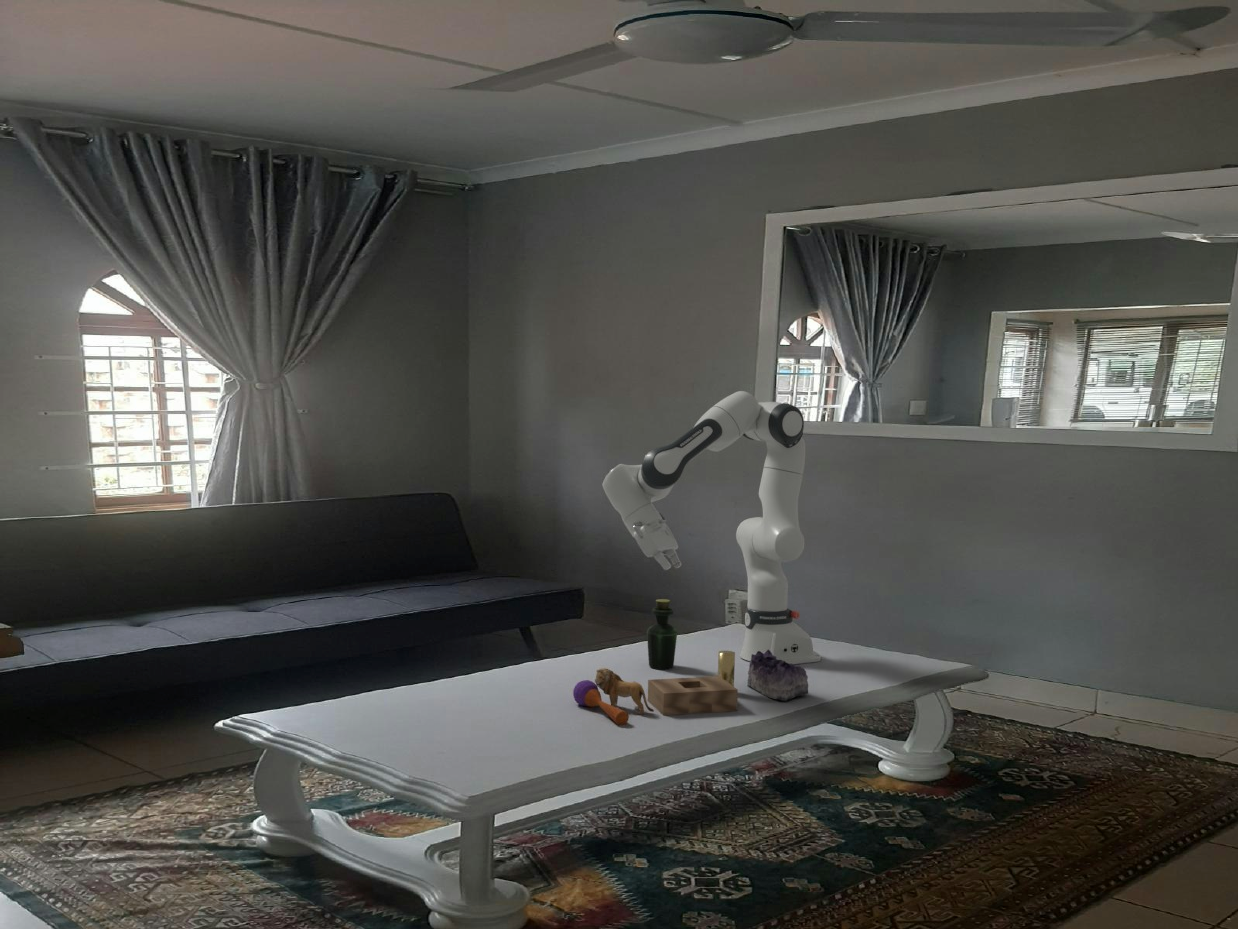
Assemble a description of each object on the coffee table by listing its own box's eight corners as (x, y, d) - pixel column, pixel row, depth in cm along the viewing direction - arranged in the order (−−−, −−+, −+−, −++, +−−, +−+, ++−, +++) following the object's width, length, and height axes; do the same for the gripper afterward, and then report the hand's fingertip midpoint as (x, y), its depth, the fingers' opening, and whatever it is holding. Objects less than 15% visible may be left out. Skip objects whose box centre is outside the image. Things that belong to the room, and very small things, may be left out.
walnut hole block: (718, 696, 260) (719, 676, 260) (737, 710, 249) (737, 689, 249) (647, 700, 256) (648, 679, 255) (663, 715, 244) (663, 693, 244)
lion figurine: (590, 708, 248) (591, 669, 248) (599, 702, 253) (600, 664, 253) (649, 716, 243) (650, 677, 242) (658, 710, 248) (659, 672, 247)
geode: (729, 684, 273) (734, 645, 273) (767, 686, 278) (771, 647, 278) (774, 702, 254) (779, 660, 255) (813, 704, 259) (819, 662, 260)
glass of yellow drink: (730, 690, 267) (731, 650, 266) (736, 694, 263) (737, 654, 262) (715, 690, 265) (716, 651, 265) (720, 695, 262) (722, 654, 261)
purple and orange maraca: (608, 710, 234) (567, 681, 251) (611, 735, 235) (570, 704, 253) (632, 702, 237) (589, 673, 254) (635, 727, 238) (592, 697, 255)
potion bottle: (682, 667, 287) (684, 601, 286) (660, 672, 282) (661, 604, 281) (662, 661, 294) (663, 596, 292) (639, 666, 288) (641, 599, 287)
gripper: (641, 515, 262) (672, 562, 259) (665, 515, 282) (694, 559, 279) (621, 530, 264) (651, 577, 261) (646, 528, 283) (674, 572, 280)
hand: (673, 567), depth 270 cm, fingers open, 8 cm apart
